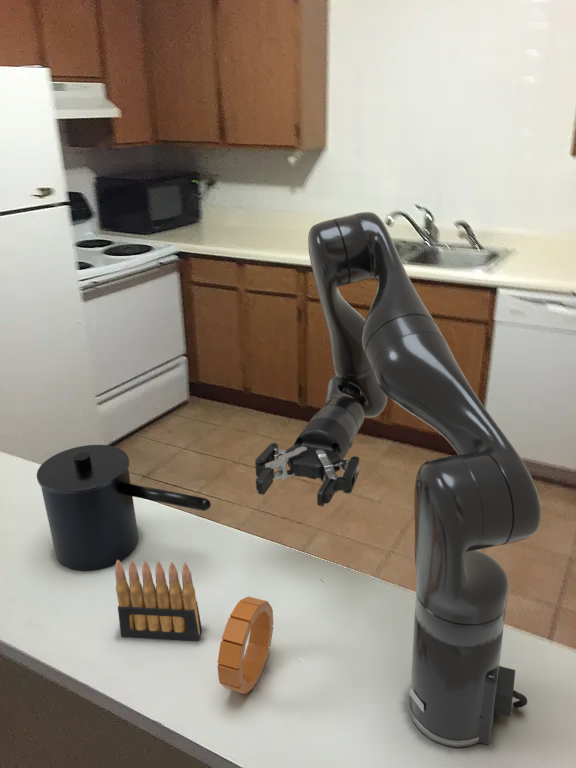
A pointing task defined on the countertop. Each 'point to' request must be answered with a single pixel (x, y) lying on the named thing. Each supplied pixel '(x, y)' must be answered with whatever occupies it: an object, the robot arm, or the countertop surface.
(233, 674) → the bracelet
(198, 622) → the ammunition clip
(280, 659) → the countertop surface
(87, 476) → the saucepan
